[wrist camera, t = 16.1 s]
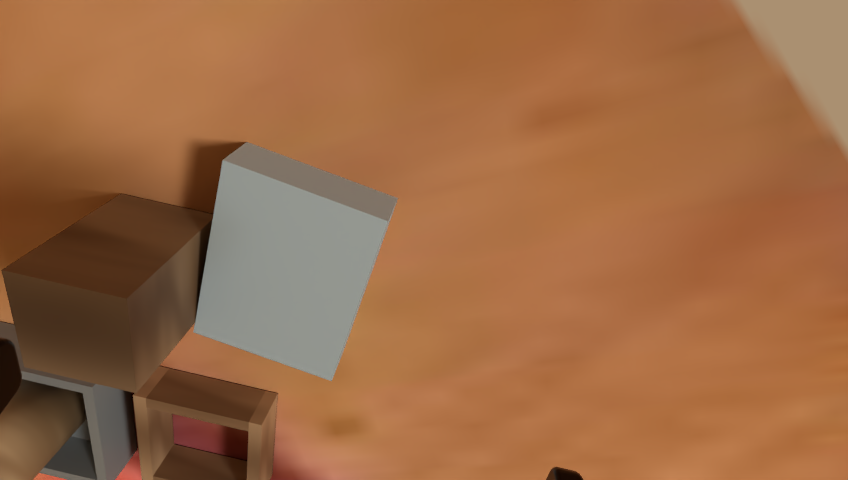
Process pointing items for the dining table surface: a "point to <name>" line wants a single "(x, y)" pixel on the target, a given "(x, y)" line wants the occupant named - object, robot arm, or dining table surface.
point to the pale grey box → (288, 259)
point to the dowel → (37, 427)
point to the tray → (88, 426)
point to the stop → (110, 292)
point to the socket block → (207, 401)
